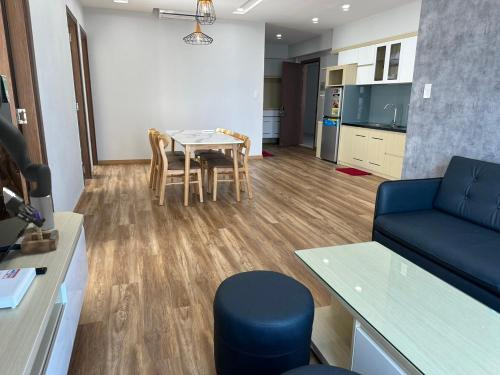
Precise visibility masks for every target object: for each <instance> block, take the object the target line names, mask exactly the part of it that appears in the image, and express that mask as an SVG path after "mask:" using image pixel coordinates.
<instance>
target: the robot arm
mask: <svg viewBox="0 0 500 375" xmlns="http://www.w3.org/2000/svg"><path fill="white" fill-rule="evenodd" d="M2 104H3V96H2V94H1V93H0V109H1V108H2V106H3V105H2ZM0 140H1V143H2V144H1V143H0V144H1V146H2V147H3V148H4V149H5V151H6V152H7V153H8V155H9V156H10V158H11V159H12V161H13V162H14V163H15V165H16V166H17V168H18V170H19V172H20V174H21V175H22V177H23V179H24V180H25V181H28V182H30V183H36V187H35V188H33V189H32V188H31V189H30V190H29V199H30V203H26V204H25V203H24V201H25V199H24V198H23V197H21V196H20V195H18V194H17V193H15V192H14V191H13V190H11V189H9V188H8V187H6V186H4V187H3V196H4V203H5V207H6V210H5V211H7V212H8V213H10V214H13V213H14V212H15V213H16V214H17V215H16V218H18V219H20V220H22V222H23V221H24V222H25V223H27V224H28V225H29V224H32V227H33V229H34V230H35V231H37V229H36V226H38V227H39V228H41V231H49V230H51V229H54V228H55V218H54V217H55V216H54V207H53V200H52V189H53V188H52V186H53V185H52V182H53V181H52V172H51V168H50V166H49V165H47V164H44V163H34V162H33V161H32V160H31V159H30V157H29V156H28V153H27V151H28V150H27V149H28V143H27V140H26V137H24V135H23V134H22V132H21V130H20V129H19V128H18V127H17V126H16V125H15V124H14V123H13V122H11V121H10V120H8V119H7V118H6V117H5V116H4V115H2V114H1V113H0ZM33 211H40V213H41V215H42V217H43V220H41V221H39V220H37V219H36V218H35V217H34V216H33V214H32V212H33Z"/></svg>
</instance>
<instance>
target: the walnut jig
mask: <svg viewBox="0 0 500 375" xmlns="http://www.w3.org/2000/svg"><path fill="white" fill-rule="evenodd" d="M41 233H42V239H43V240H38V236H37V234H38V233H37V231H36V232H29V233H28V232H27V233H25V235H24V237H23V239H22V241H21V243H20V252H21V254H22V255H26V254H34V253H35V254H36V253H43V252H50V251H56V250H57V248H58V245H59V242H60V235H59V230H58V229H53V230H45V231H41Z"/></svg>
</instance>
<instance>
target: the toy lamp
mask: <svg viewBox="0 0 500 375" xmlns="http://www.w3.org/2000/svg"><path fill="white" fill-rule="evenodd" d="M32 214H33V216H34V217H35V218H36V219H37V220H39V221H41V220H43V217H42V215H41V213H40V211H33V212H32ZM36 229H37V230H36V232H37V233H38V234H37V236H38V240H43V239H42V233H41V232H42V230H41V228H39V227H38V226H36Z"/></svg>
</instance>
